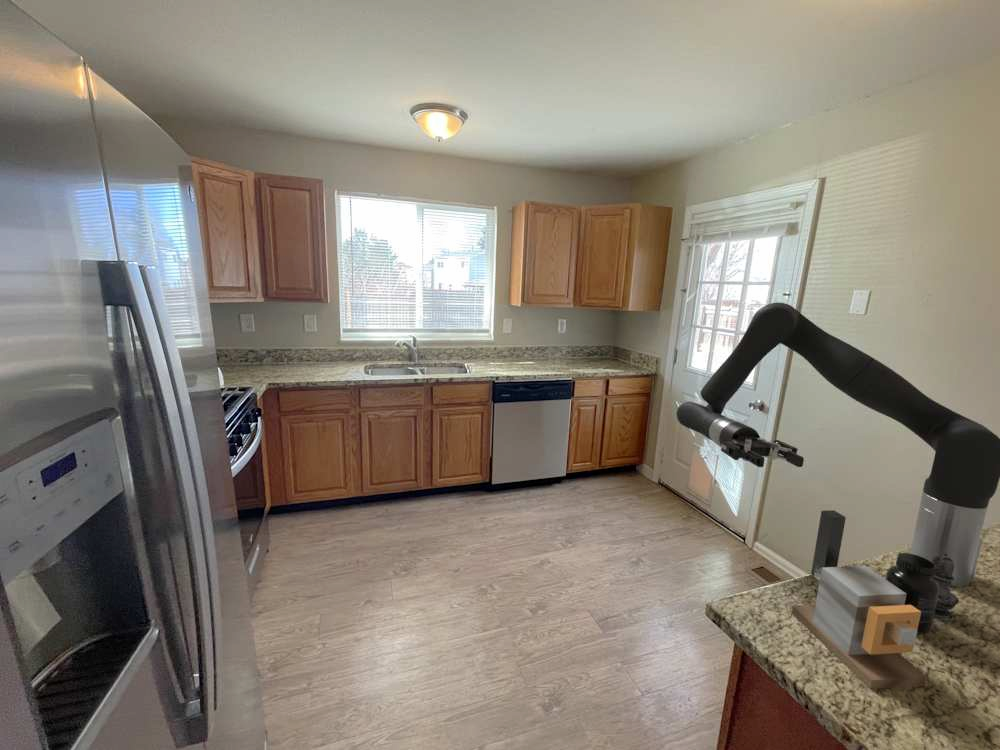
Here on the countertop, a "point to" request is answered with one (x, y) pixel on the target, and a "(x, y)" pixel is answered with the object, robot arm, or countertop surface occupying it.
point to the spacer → (876, 626)
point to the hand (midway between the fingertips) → (782, 462)
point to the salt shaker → (944, 586)
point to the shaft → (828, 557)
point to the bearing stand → (857, 624)
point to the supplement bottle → (916, 586)
